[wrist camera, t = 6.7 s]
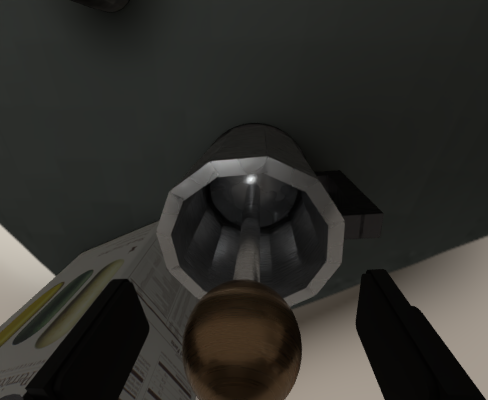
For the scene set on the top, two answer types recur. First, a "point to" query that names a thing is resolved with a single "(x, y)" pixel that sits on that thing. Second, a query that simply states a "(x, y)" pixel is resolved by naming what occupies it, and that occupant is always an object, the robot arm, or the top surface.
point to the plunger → (244, 306)
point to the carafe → (272, 236)
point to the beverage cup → (104, 4)
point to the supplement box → (81, 298)
